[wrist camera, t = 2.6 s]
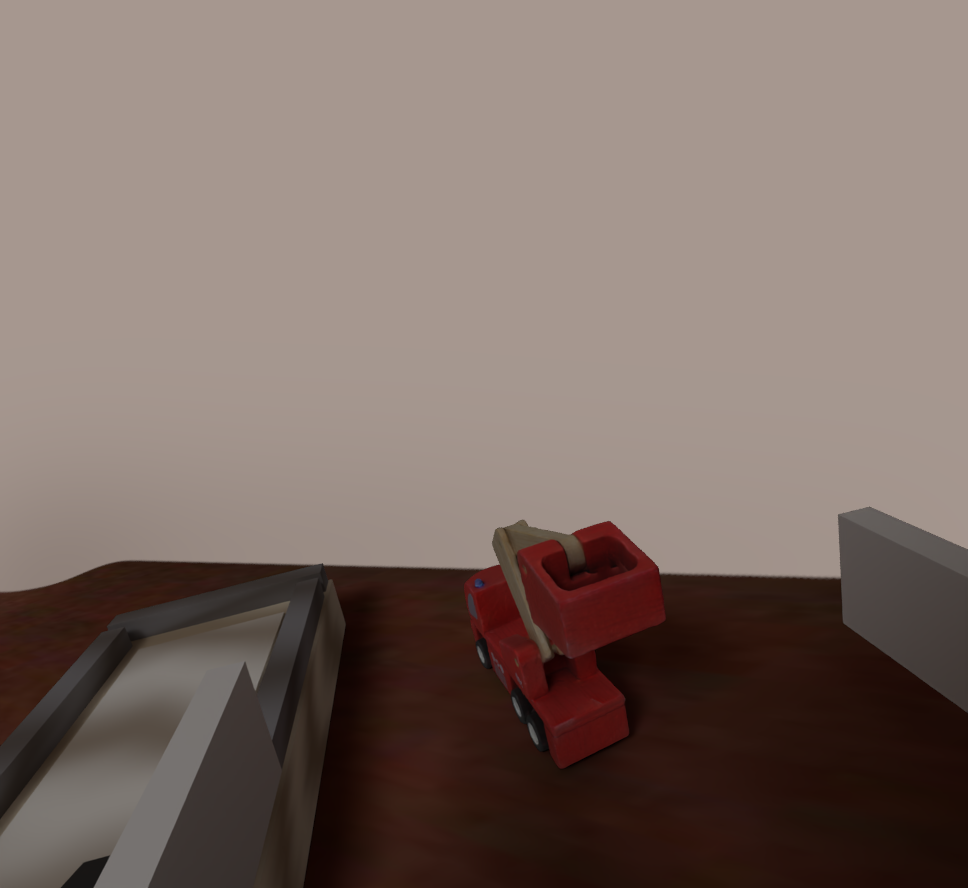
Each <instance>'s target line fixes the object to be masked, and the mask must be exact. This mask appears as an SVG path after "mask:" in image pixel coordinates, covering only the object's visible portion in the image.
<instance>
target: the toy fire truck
mask: <svg viewBox="0 0 968 888" xmlns="http://www.w3.org/2000/svg"><path fill="white" fill-rule="evenodd" d="M492 545H493V548H494V551H495V553H496V556H497V558H498V561H499V563H500V565H496V566H493V567H489V568H487V569H484V570H482V571H480V572H478V573H476V574H475V575H474V576H472V577H471V578H470V579H469V580H468V581H466V582H465V585H464V589H465V598H466V603H467V607H468V611H469V614H470V616H471V627H472V630H473V633H474V636H475V641H476V648H477V651H478V655H479V657H480V660H481V662H482V664H483V666H484V667H485V668H487V669H489V668H491V667H493V670H494V671H495V673H496V674H497V676H498V677H499V679H500V681H501V682H502V683H503V685H504V686H505V688H506V689H507V690H508V692H509V694H510V695H511V699H512V702H513V706H514V708H515V711H516V713H517V715H518V717H519V719H520V721H521V722H522V723H523V724H527V726H528V730H529V733H530V736H531V738H532V740H533V742H534V744H535V746H536V747H537V749H538V750H539V751H546V750H548V749H549V750H550V754H551V757H552V758H553V760H554V762H555V763H556V765H557V766H558V767H559V768H560V769H563V768H566V767H568V766H569V765H571V764H573V763H575V762H578V761H579V760H581V759H583V758H585V757H587V756H589V755H591V754H594V753H596V752H597V751H599V750H601V749H603V748H605V747H607V746H609V745H611V744H613V743H615V742H617V741H619V740H621V739H623V738H625V737H627V736H628V735H629V727H628V721H627V714H626V708H625V705H624V704H625V697H624V695H623V694H622V693H621V692H620V691H619V690H618V689H617V688H616V687H615V686H614V685H613V684H612V683H611V682H610V681H609V680H608V678H607V677H606V676H605V675H604V674H603V673H602V672H601V671H600V670H599V669H598V668H597V663H596V654H595V650H596V649H598V648H600V647H603V646H605V645H607V644H609V643H612V642H615V641H617V640H620V639H622V638H626V637H628V636H631V635H633V634H634V633H638V632H641V631H643V630H645V629H647V628H649V627H653V626H656V625H659V624H660V623H662V622H664V621H665V620H666V615H665V607H664V598H663V591H662V587H661V579H660V575H659V568H658V566H657V565H656V564H655V563H654V562H653V561H652V560H651V559H650V558H649V557H648V556H646V554H645V553H644V552H642V550H640V549H639V548H638V547H637V546H636V545H635V544H634V543H633V542H632V541H631V540H630V539H629V538H628V537H627V536H626V535H624V534H623V533H622V531H621V530H620V529H618V528H617V527H616V526H615V525H614V524H613V523H611V522H610V521H607V522H603V523H599V524H596V525H593V526H590V527H587V528H584V529H580V530H578V531H575V532H574V533H572V534H571V535H566V534H562V533H558V532H553V531H548V530H541V529H537V528H533V527H528V525H527V523H526V522H525V521H524V520H520V521H518V522H517V523H516V524H514V525H511V526H507V527H505V528H497V529H496V530H495V533H494V537H493V541H492Z"/></svg>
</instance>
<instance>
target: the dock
mask: <svg viewBox="0 0 968 888" xmlns="http://www.w3.org/2000/svg"><path fill="white" fill-rule="evenodd" d="M345 626H346V623H345V620H344V617H343V613H342V610H341V607H340V604H339V600H338V597H337V594H336V590H335V587H334V584H333V581H332V580H328V579H327V576H326V573H325V569H324V566H323V563H322V564H318V565H314V566H310V567H306V568H302V569H298V570H294V571H290V572H286V573H282V574H278V575H274V576H270V577H267V578H263V579H259V580H255V581H251V582H247V583H243V584H239V585H235V586H231V587H227V588H223V589H219V590H215V591H211V592H207V593H203V594H199V595H195V596H191V597H187V598H183V599H179V600H175V601H172V602H168V603H164V604H160V605H156V606H152V607H148V608H144V609H140V610H136V611H132V612H128V613H124V614H120V615H117V616H116V617H115V618H114V619H113V620H112V621H111V623H110V624H109V625H108V626H107V628H108V630H109V631H106V632H102V633H101V634H100V635H99V636H98V637H97V638H96V639H95V641H94V642H93V643H92V644H91V645H90V646H89V647H88V648H87V650H86V651H85V652H84V653H83V654H82V655H81V656H80V657H79V659H78V660H77V661H76V662H75V663H74V664H73V665H72V666H71V668H70V669H69V670H68V671H67V672H66V673H65V674H64V675H63V677H62V678H61V679H60V680H59V681H58V682H57V683H56V684H55V686H54V687H53V688H52V689H51V690H50V691H49V692H48V693H47V695H46V696H45V697H44V698H43V699H42V700H41V701H40V702H39V704H38V705H37V706H36V707H35V708H34V709H33V710H32V711H31V713H30V714H29V715H28V716H27V717H26V718H25V719H24V720H23V722H22V723H21V724H20V725H19V726H18V727H17V728H16V729H15V731H14V732H13V733H12V734H11V735H10V736H9V737H8V738H7V740H6V741H5V742H4V743H3V744H2V745H1V746H0V888H61V887H62V886H63V884H64V883H65V882H66V881H67V880H68V879H69V878H70V877H71V876H72V875H73V873H74V872H75V871H76V870H77V869H78V868H79V867H80V866H81V865H82V864H83V862H87V861H90V860H94V859H98V858H102V857H105V856H109V855H111V854H112V852H113V850H114V848H115V846H116V844H117V842H118V840H119V838H120V836H121V834H122V832H123V831H124V829H125V827H126V825H127V823H128V821H129V819H130V817H131V815H132V813H133V811H134V809H135V807H136V806H137V804H138V802H139V800H140V798H141V796H142V794H143V792H144V790H145V788H146V786H147V784H148V783H149V781H150V779H151V777H152V775H153V773H154V771H155V769H156V767H157V765H158V763H159V761H160V760H161V758H162V756H163V754H164V752H165V750H166V748H167V746H168V744H169V742H170V740H171V738H172V737H173V735H174V733H175V731H176V729H177V727H178V725H179V723H180V721H181V719H182V717H183V715H184V713H185V712H186V710H187V708H188V706H189V704H190V702H191V700H192V698H193V696H194V694H195V692H196V690H197V689H198V687H199V685H200V683H201V681H202V679H203V677H204V675H205V673H206V671H207V670H210V669H214V668H218V667H222V666H226V665H230V664H235V663H239V662H243V661H245V662H246V665H247V668H248V671H249V674H250V677H251V680H252V683H253V686H254V689H255V692H256V695H257V698H258V701H259V704H260V707H261V710H262V713H263V716H264V719H265V722H266V725H267V728H268V731H269V734H270V736H271V739H272V742H273V745H274V748H275V751H276V754H277V757H278V760H279V763H280V766H281V769H282V773H281V777H280V781H279V785H278V789H277V793H276V797H275V801H274V805H273V809H272V813H271V817H270V821H269V825H268V829H267V833H266V837H265V841H264V845H263V849H262V853H261V857H260V861H259V865H258V869H257V873H256V877H255V881H254V885H253V888H303V886H304V880H305V874H306V867H307V861H308V855H309V849H310V843H311V836H312V830H313V824H314V818H315V812H316V805H317V799H318V793H319V787H320V781H321V774H322V768H323V762H324V756H325V750H326V743H327V737H328V731H329V725H330V719H331V712H332V706H333V700H334V694H335V688H336V681H337V675H338V669H339V663H340V657H341V650H342V644H343V638H344V632H345Z"/></svg>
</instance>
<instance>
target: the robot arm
mask: <svg viewBox="0 0 968 888" xmlns="http://www.w3.org/2000/svg"><path fill="white" fill-rule="evenodd" d="M838 523H839V544H840V566H841V589H842V610H843V623H844V624H845V625H847V626H848V627H850V628H851V629H852V630H854V631H855V632H856V633H858V634H859V635H861V636H862V637H863V638H865V639H866V640H868V641H869V642H870V643H872V644H873V645H874V646H876V647H877V648H879V649H880V650H881V651H883V652H884V653H885V654H887V655H888V656H890V657H891V658H892V659H894V660H895V661H897V662H898V663H899V664H901V665H902V666H903V667H905V668H906V669H908V670H909V671H910V672H912V673H913V674H915V675H916V676H917V677H919V678H920V679H921V680H923V681H924V682H926V683H927V684H928V685H930V686H931V687H933V688H934V689H935V690H937V691H938V692H939V693H941V694H942V695H944V696H945V697H946V698H948V699H949V700H951V701H952V702H953V703H955V704H956V705H957V706H959V707H960V708H962V709H963V710H964V711H966V712H967V713H968V549H965V548H963V547H961V546H959V545H956V544H953V543H951V542H949V541H947V540H945V539H942V538H940V537H938V536H936V535H933V534H931V533H929V532H926V531H924V530H922V529H919V528H917V527H915V526H912V525H910V524H908V523H906V522H903V521H901V520H899V519H896V518H894V517H892V516H890V515H887V514H885V513H883V512H880V511H878V510H876V509H873V508H871V507H867V508H863V509H859V510H855V511H851V512H847V513H843V514H839V515H838ZM281 773H282V769H281V766H280V763H279V760H278V757H277V754H276V751H275V748H274V745H273V742H272V739H271V736H270V734H269V731H268V728H267V725H266V722H265V719H264V716H263V713H262V710H261V707H260V704H259V701H258V698H257V695H256V692H255V689H254V686H253V683H252V680H251V677H250V674H249V671H248V668H247V665H246V662H245V661H243V662H239V663H235V664H230V665H226V666H222V667H218V668H214V669H210V670H207V671H206V673H205V675H204V677H203V679H202V681H201V683H200V685H199V687H198V689H197V690H196V692H195V694H194V696H193V698H192V700H191V702H190V704H189V706H188V708H187V710H186V712H185V713H184V715H183V717H182V719H181V721H180V723H179V725H178V727H177V729H176V731H175V733H174V735H173V737H172V738H171V740H170V742H169V744H168V746H167V748H166V750H165V752H164V754H163V756H162V758H161V760H160V761H159V763H158V765H157V767H156V769H155V771H154V773H153V775H152V777H151V779H150V781H149V783H148V784H147V786H146V788H145V790H144V792H143V794H142V796H141V798H140V800H139V802H138V804H137V806H136V807H135V809H134V811H133V813H132V815H131V817H130V819H129V821H128V823H127V825H126V827H125V829H124V831H123V832H122V834H121V836H120V838H119V840H118V842H117V844H116V846H115V848H114V850H113V852H112V854H111V855H109V856H105V857H102V858H98V859H94V860H90V861H87V862H83V864H82V865H81V866H80V867H79V868H78V869H77V870H76V871H75V872H74V873H73V875H72V876H71V877H70V878H69V879H68V880H67V881H66V882H65V883H64V884H63V886H62V887H61V888H253V885H254V881H255V877H256V873H257V869H258V865H259V861H260V857H261V853H262V849H263V845H264V841H265V837H266V833H267V829H268V825H269V821H270V817H271V813H272V809H273V805H274V801H275V797H276V793H277V789H278V785H279V781H280V777H281Z"/></svg>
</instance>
